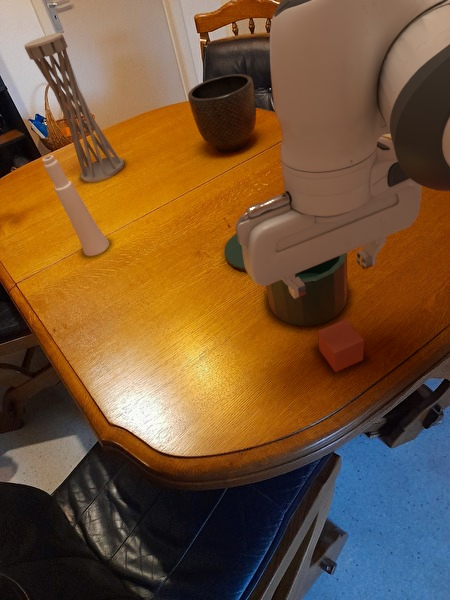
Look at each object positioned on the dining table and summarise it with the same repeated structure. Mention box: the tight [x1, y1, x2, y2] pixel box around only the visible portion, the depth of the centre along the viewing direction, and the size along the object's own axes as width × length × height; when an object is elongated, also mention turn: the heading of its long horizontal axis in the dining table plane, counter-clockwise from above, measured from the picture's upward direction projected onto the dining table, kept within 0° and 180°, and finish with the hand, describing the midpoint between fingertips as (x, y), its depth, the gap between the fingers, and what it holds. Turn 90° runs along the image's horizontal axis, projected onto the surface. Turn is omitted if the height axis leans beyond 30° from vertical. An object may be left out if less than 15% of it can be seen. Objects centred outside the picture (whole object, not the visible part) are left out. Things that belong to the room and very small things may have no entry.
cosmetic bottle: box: [42, 154, 110, 257], centre depth 85 cm, size 6×6×22 cm
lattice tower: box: [23, 32, 125, 183], centre depth 111 cm, size 14×13×35 cm
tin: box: [265, 252, 348, 327], centre depth 64 cm, size 13×13×10 cm
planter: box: [187, 73, 257, 154], centre depth 110 cm, size 17×17×16 cm
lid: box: [224, 232, 246, 271], centre depth 77 cm, size 14×14×5 cm
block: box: [317, 318, 365, 373], centre depth 56 cm, size 4×4×4 cm
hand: (332, 279), depth 50 cm, fingers open, 8 cm apart
